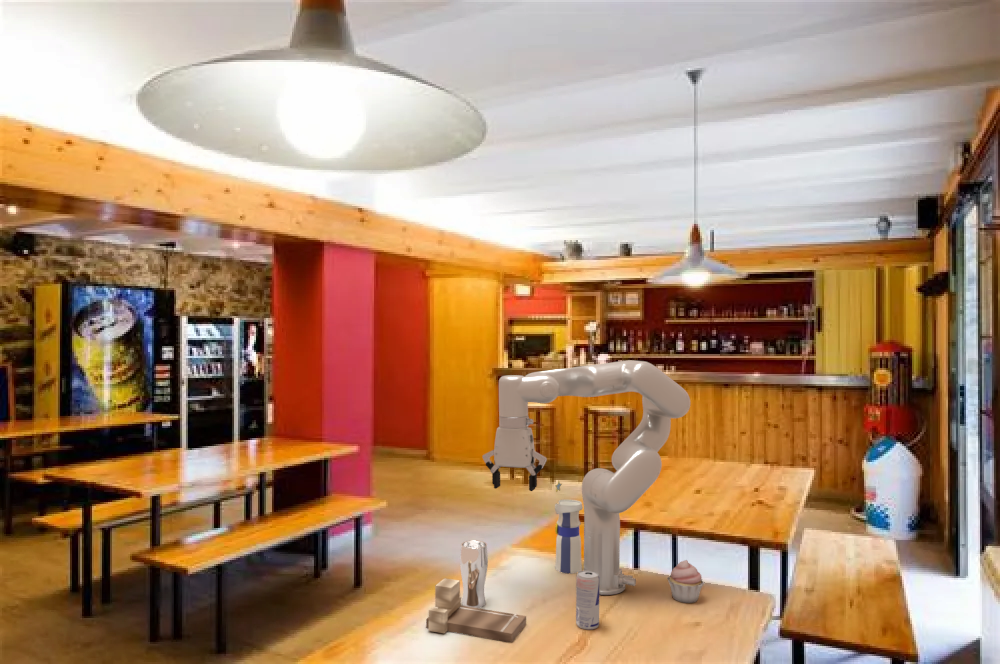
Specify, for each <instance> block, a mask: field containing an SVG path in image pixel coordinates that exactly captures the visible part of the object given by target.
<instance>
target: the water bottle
mask: <svg viewBox="0 0 1000 664" xmlns="http://www.w3.org/2000/svg"><path fill="white" fill-rule="evenodd" d="M562 485H563V483H560V480H558V481H557V484H555V485H554V486H555V488H556V489H555V492H556V493H557V492H558V491H561V486H562ZM557 502H558V503H555V504H554V510H555V514H556V515H558V519H557V520H556V523H555V527H554V530H555V531H554V532H555V534H556V540H555V541H556V542H555V544H556V545H555V566H554V567H555V568H554V569H555V570H556V572H558V571H559V572H558V573H561V572H562V574H569V573H570V574H572V575H573V574H577V572H579V571H583V565H582V537H581V535H580V526H581V524H582V522H581V521H580V518H579V516H580V511H582V510H584V506H583V502H582V501H580V500H575V499H559V500H558V501H557Z"/></svg>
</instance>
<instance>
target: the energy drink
mask: <svg viewBox="0 0 1000 664" xmlns="http://www.w3.org/2000/svg"><path fill="white" fill-rule="evenodd" d="M575 579H576V583H575V589H576V590H575V591H576V592H575V593H576V596H575V598H576V599H575V603H576V604H575V608H576V610H575V624H576V626H577V627H578V628H580V629H582V630H589V631H590V630H596V629H597V628H598V627H599V626H600V595H599V574H598V573H597V572H595V571H590V570H584V569H582V570H581V571H579V572H578V573H576V577H575Z"/></svg>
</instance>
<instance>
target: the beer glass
mask: <svg viewBox="0 0 1000 664" xmlns="http://www.w3.org/2000/svg"><path fill="white" fill-rule="evenodd" d="M488 554H489V553H488V543H487V542H485V541H483V540H477V539H475V540H466V541H463V542H462V543H461V544H460V556H459V557H460V559H459V566H460V574H461V581H462V589H463V591H462V597H461V606H467V607H474V608H480V607H481V608H483V607H485V606H486V604H487V602H486V596H485V584H486V578H487V575H488V574H487V573H488V562H489V561H488V560H489V558H488V557H489V555H488ZM481 608H480V609H481Z"/></svg>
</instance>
